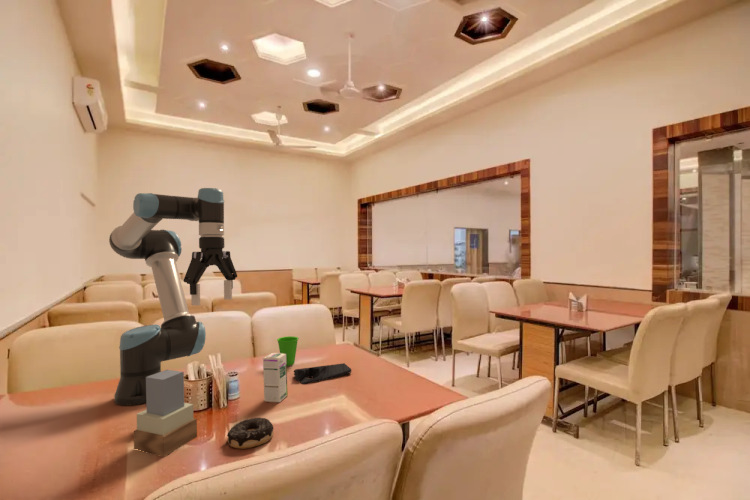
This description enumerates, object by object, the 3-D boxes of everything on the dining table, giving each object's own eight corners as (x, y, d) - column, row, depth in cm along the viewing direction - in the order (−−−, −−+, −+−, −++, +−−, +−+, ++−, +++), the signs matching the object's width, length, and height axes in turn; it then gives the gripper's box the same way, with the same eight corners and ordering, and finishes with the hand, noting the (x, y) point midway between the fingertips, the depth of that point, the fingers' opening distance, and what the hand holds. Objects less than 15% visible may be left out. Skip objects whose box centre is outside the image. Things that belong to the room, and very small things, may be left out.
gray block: (146, 412, 94) (145, 377, 94) (167, 403, 99) (166, 369, 99) (163, 416, 91) (162, 379, 91) (184, 406, 97) (183, 371, 97)
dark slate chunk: (355, 377, 144) (355, 365, 144) (299, 386, 135) (298, 373, 135) (343, 366, 158) (343, 355, 158) (291, 373, 149) (290, 362, 149)
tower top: (136, 429, 93) (136, 413, 93) (168, 414, 101) (167, 399, 101) (163, 435, 90) (163, 419, 90) (193, 419, 98) (193, 404, 98)
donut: (282, 438, 98) (281, 423, 98) (239, 457, 89) (239, 440, 89) (259, 425, 105) (259, 411, 105) (218, 441, 96) (218, 426, 96)
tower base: (134, 450, 92) (133, 430, 92) (168, 431, 102) (168, 413, 102) (164, 457, 89) (163, 437, 89) (196, 437, 99) (196, 418, 99)
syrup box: (280, 402, 120) (279, 357, 120) (263, 401, 121) (262, 357, 121) (287, 395, 125) (287, 352, 125) (271, 394, 126) (270, 352, 126)
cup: (276, 362, 163) (276, 337, 163) (297, 360, 165) (297, 335, 165) (277, 368, 154) (277, 342, 154) (300, 366, 157) (299, 340, 157)
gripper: (188, 235, 107) (189, 308, 107) (247, 237, 130) (248, 297, 130) (169, 235, 110) (170, 307, 110) (230, 237, 133) (231, 296, 133)
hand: (212, 302), depth 120 cm, fingers open, 13 cm apart
